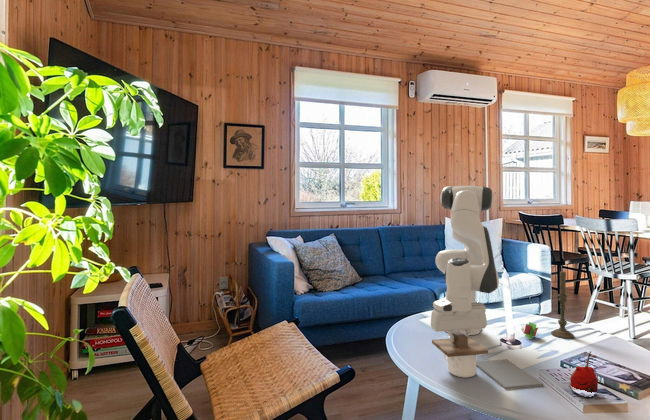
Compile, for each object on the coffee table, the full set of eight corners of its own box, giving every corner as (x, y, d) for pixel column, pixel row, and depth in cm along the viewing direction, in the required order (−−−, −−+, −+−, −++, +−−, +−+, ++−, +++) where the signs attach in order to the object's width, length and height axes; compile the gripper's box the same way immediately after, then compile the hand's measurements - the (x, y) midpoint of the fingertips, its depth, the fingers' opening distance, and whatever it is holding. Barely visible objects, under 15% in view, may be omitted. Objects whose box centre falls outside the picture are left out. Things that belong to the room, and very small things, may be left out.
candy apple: (589, 388, 126) (590, 344, 126) (603, 400, 119) (604, 352, 119) (565, 388, 127) (566, 343, 126) (578, 399, 120) (578, 352, 119)
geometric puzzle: (534, 329, 178) (525, 316, 176) (546, 334, 171) (537, 321, 170) (524, 339, 176) (515, 327, 175) (535, 345, 170) (526, 332, 168)
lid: (431, 342, 144) (431, 329, 144) (468, 340, 146) (468, 326, 146) (447, 356, 131) (447, 341, 131) (488, 353, 133) (488, 339, 133)
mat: (473, 363, 146) (473, 361, 146) (506, 361, 148) (506, 359, 148) (505, 389, 127) (505, 387, 127) (543, 385, 129) (543, 383, 129)
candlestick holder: (579, 337, 173) (579, 271, 172) (564, 340, 169) (565, 272, 169) (560, 330, 181) (560, 267, 180) (546, 333, 178) (546, 269, 177)
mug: (436, 371, 140) (436, 347, 140) (450, 363, 147) (450, 339, 147) (468, 382, 132) (468, 356, 131) (480, 372, 139) (480, 348, 139)
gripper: (480, 299, 143) (480, 336, 143) (428, 302, 140) (429, 340, 140) (490, 304, 137) (490, 342, 137) (436, 307, 134) (436, 346, 134)
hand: (458, 341), depth 139 cm, fingers closed on lid, 3 cm apart
